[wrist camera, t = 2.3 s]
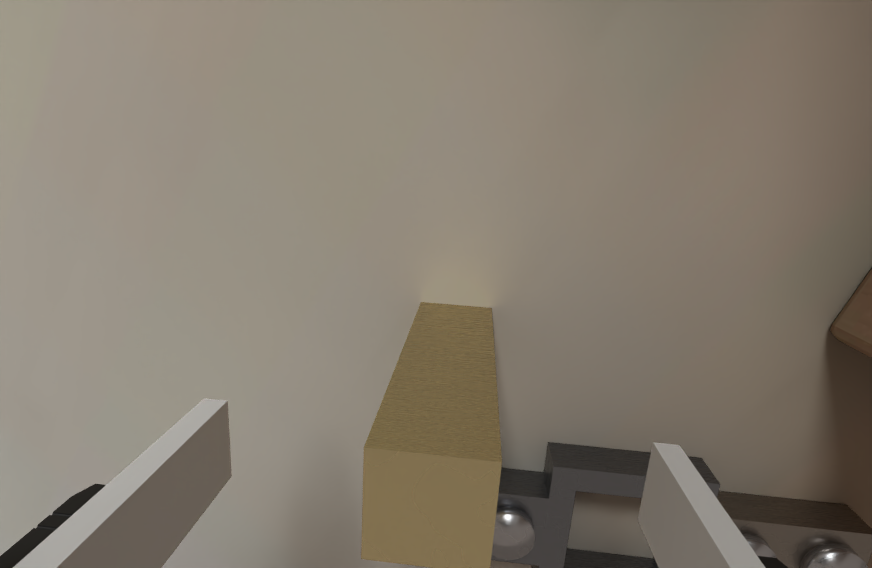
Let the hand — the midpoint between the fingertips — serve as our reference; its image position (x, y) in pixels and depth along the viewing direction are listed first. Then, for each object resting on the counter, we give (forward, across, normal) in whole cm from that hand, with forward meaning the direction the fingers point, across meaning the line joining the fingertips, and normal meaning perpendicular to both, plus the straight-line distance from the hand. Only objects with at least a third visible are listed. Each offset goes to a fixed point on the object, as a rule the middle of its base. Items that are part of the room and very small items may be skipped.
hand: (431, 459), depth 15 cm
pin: (+9, 0, 0) cm, 9 cm away
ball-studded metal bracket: (+9, +9, -8) cm, 16 cm away
